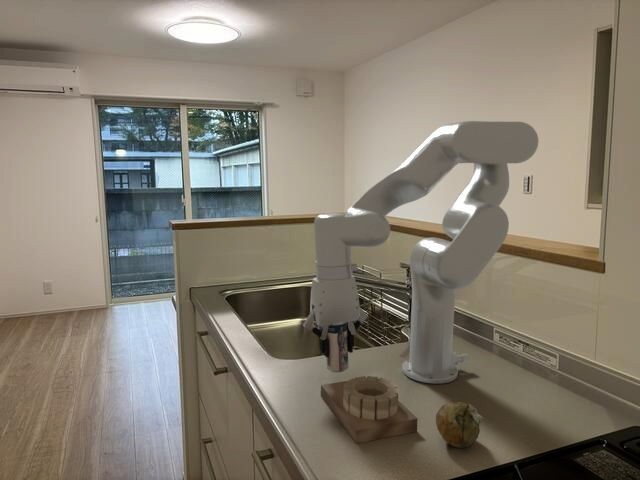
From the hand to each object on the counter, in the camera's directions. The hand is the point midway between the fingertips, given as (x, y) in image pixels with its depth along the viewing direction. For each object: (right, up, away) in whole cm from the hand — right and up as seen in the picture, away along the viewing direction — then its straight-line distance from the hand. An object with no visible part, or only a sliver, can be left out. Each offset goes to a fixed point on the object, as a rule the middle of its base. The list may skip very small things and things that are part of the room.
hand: (337, 351), depth 104 cm
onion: (+20, -11, -21) cm, 31 cm away
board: (+5, -9, -12) cm, 16 cm away
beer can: (0, -4, +1) cm, 4 cm away
